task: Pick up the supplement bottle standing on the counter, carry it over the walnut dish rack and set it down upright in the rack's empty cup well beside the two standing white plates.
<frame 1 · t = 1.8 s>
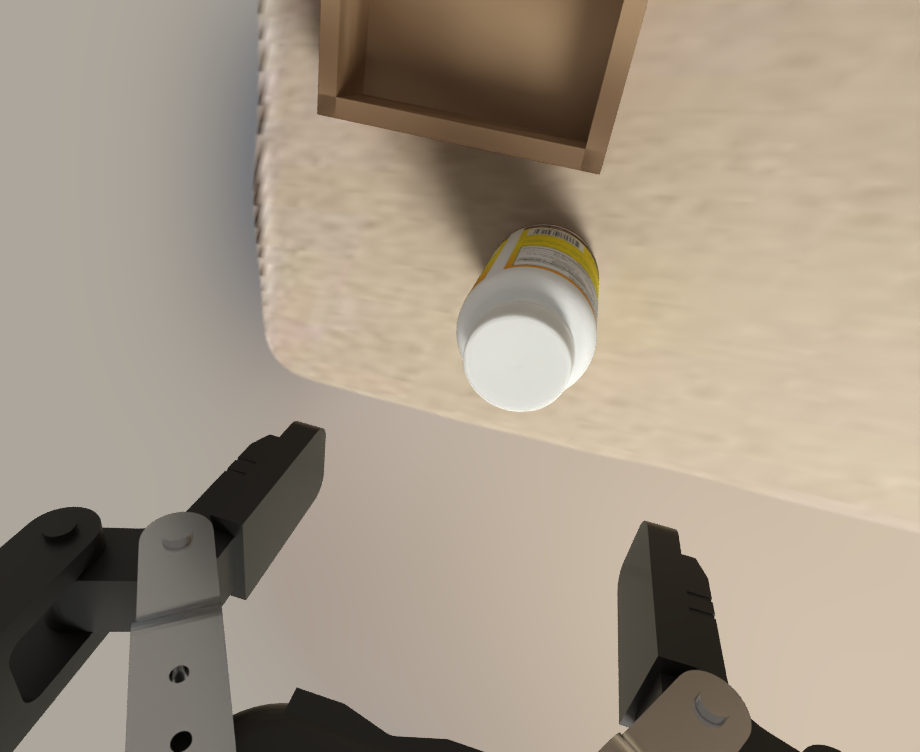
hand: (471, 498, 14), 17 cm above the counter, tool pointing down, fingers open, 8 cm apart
rack: (494, 9, 24), on the counter
supplement bottle: (544, 274, 29), on the counter
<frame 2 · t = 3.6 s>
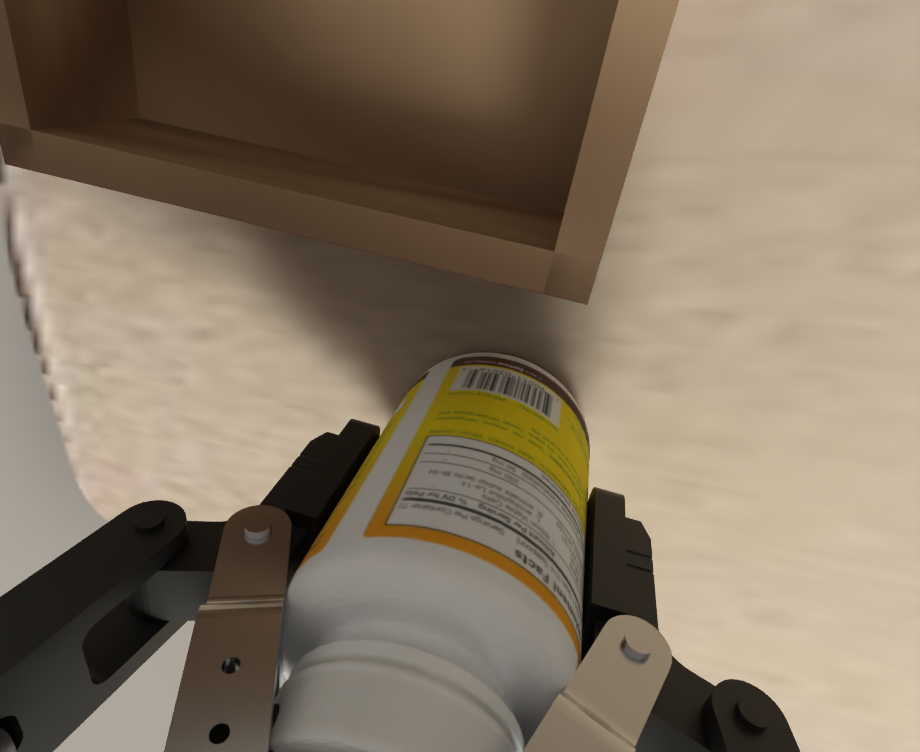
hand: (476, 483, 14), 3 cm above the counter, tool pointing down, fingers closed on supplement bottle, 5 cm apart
supplement bottle: (496, 425, 17), on the counter, touching gripper
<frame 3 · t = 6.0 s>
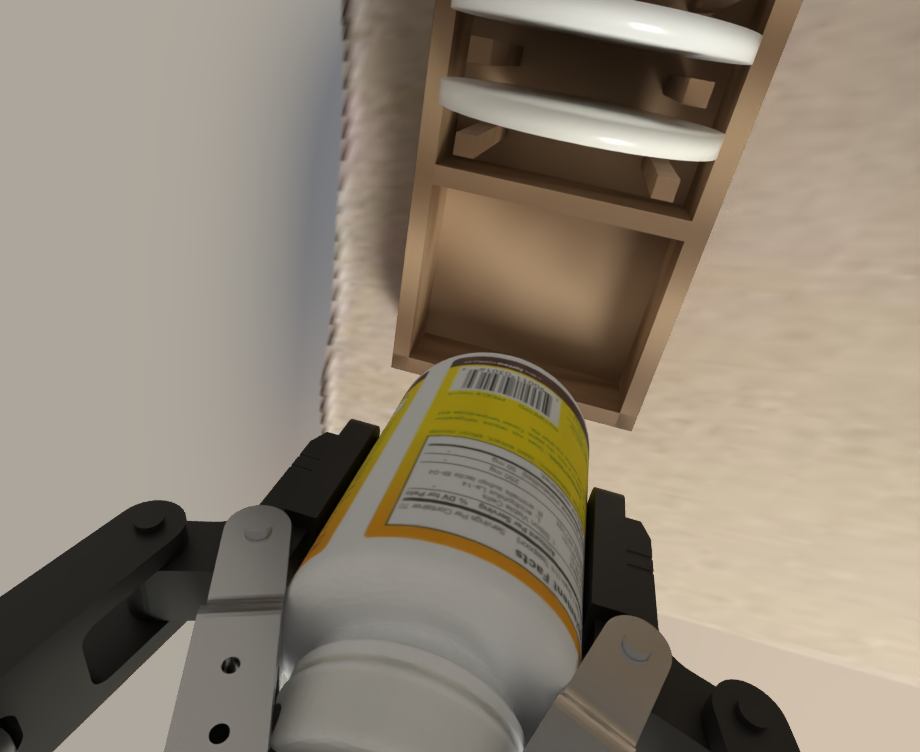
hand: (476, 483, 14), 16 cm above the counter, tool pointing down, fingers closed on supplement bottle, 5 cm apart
rack: (541, 276, 28), on the counter
plate a: (584, 105, 24), resting on rack
supplement bottle: (496, 425, 17), point 14 cm above the counter, touching gripper
plate b: (602, 33, 23), resting on rack
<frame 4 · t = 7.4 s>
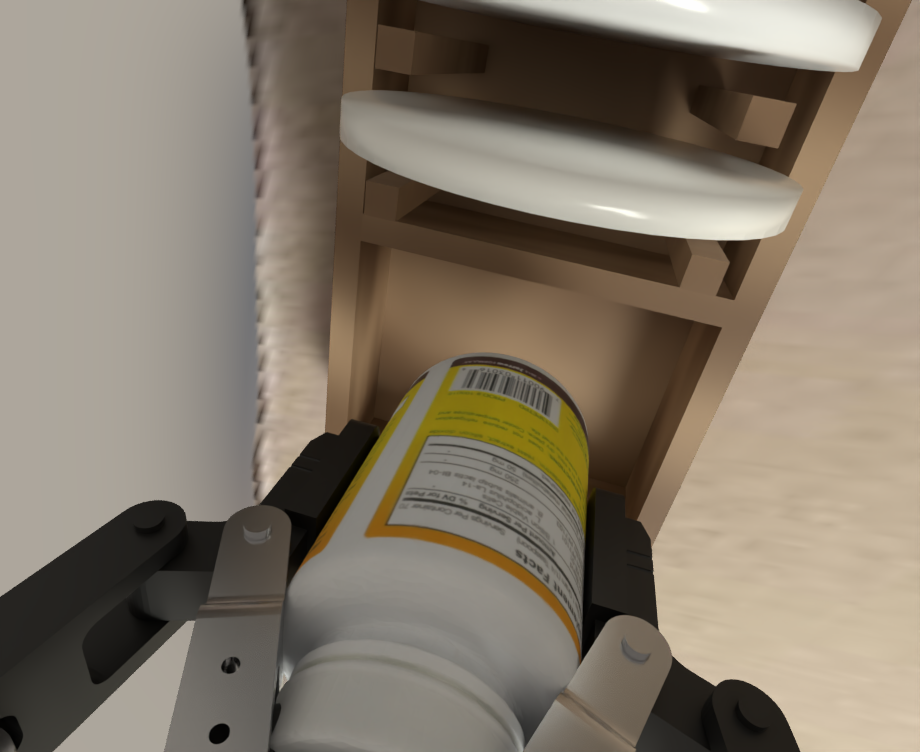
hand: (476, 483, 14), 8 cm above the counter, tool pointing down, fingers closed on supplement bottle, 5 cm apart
rack: (522, 350, 21), on the counter
plate a: (577, 127, 17), resting on rack
supplement bottle: (496, 425, 17), point 5 cm above the counter, touching gripper
plate b: (602, 25, 16), resting on rack
when the fingers open (5 cm above the counter, at t = 8.5 s): supplement bottle drops 1 cm, resting on rack.
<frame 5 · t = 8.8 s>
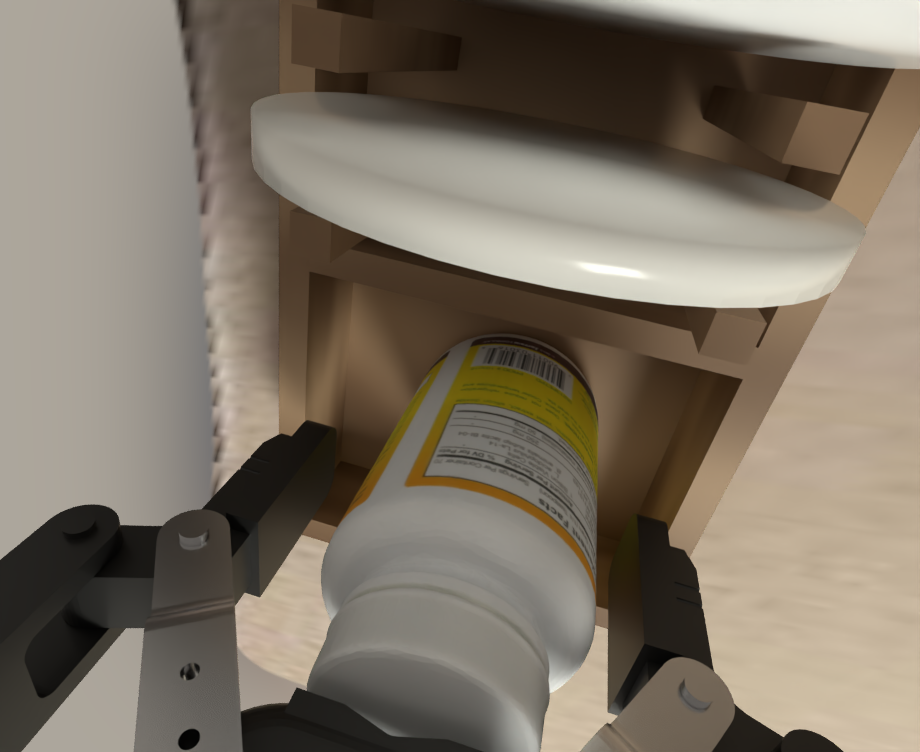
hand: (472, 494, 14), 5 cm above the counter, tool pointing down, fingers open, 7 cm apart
rack: (506, 388, 19), on the counter
plate a: (568, 134, 15), resting on rack
supplement bottle: (510, 403, 18), point 1 cm above the counter, touching rack
plate b: (597, 13, 13), resting on rack
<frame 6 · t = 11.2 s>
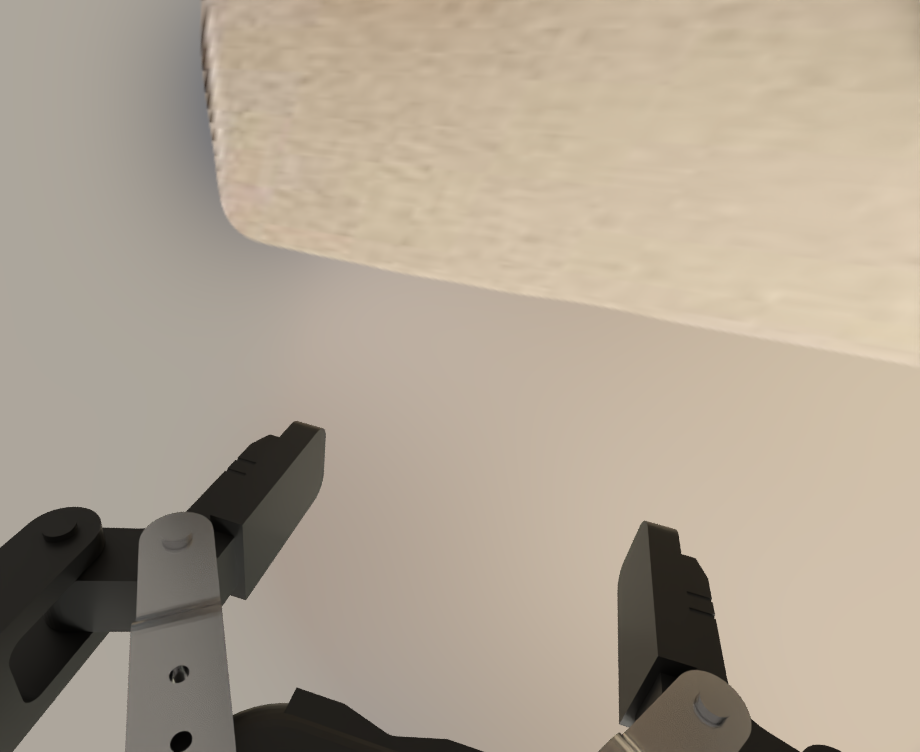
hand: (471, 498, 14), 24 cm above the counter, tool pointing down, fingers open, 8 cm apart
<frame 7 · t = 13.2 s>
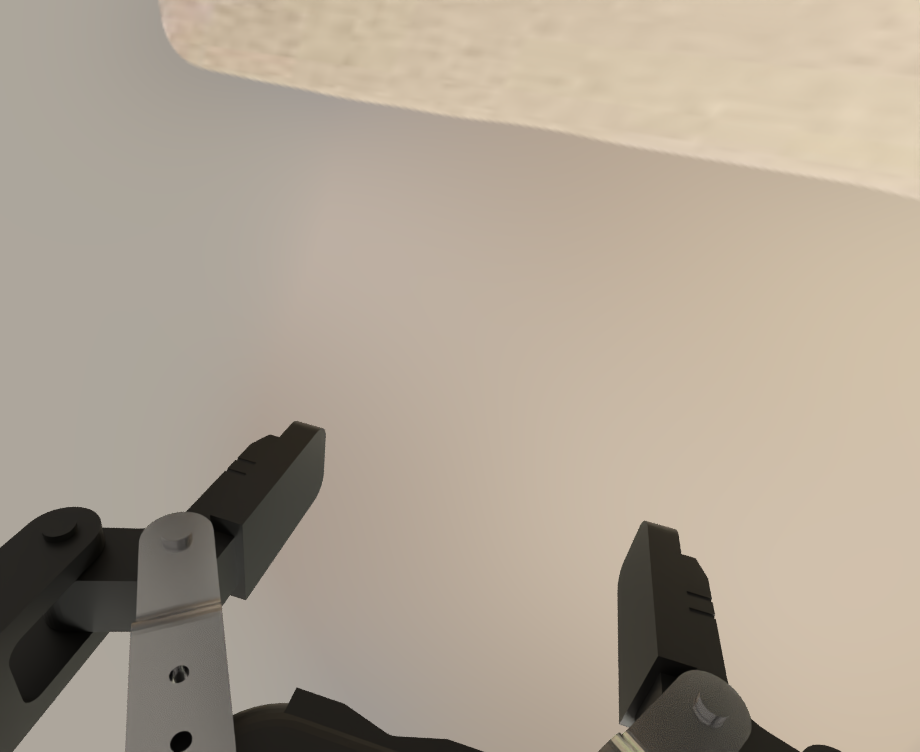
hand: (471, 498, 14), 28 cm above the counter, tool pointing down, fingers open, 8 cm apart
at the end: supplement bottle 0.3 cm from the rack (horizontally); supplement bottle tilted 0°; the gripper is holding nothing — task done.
